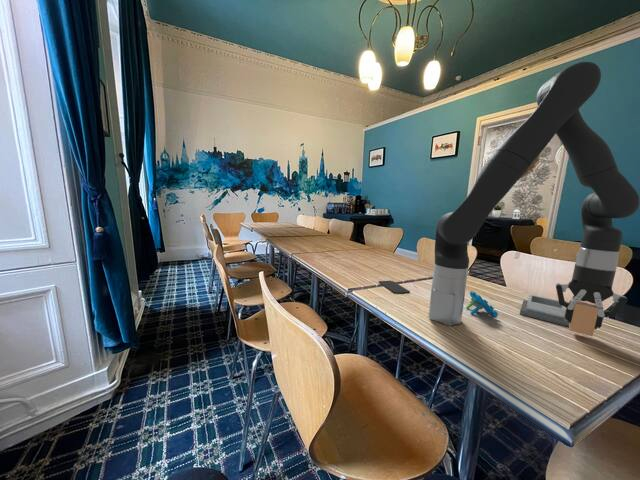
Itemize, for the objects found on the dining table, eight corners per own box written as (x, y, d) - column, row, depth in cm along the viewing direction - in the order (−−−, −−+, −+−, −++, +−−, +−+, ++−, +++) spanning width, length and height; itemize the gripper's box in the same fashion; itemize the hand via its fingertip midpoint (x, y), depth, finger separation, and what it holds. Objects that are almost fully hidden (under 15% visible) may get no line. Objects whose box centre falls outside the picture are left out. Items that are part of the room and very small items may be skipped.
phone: (392, 280, 115) (411, 291, 100) (392, 282, 115) (411, 293, 100) (377, 281, 113) (394, 292, 99) (377, 282, 113) (394, 294, 99)
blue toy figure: (506, 318, 77) (483, 293, 78) (490, 330, 77) (468, 306, 78) (486, 308, 88) (466, 286, 89) (472, 319, 88) (453, 297, 89)
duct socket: (569, 327, 76) (572, 313, 75) (519, 314, 84) (521, 301, 84) (567, 314, 86) (570, 301, 85) (523, 303, 94) (525, 292, 93)
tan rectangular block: (592, 336, 68) (599, 308, 66) (569, 330, 71) (575, 303, 69) (590, 330, 71) (596, 304, 70) (568, 325, 74) (574, 299, 72)
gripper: (559, 262, 70) (547, 320, 72) (640, 274, 60) (623, 340, 63) (558, 258, 75) (547, 312, 78) (633, 269, 66) (617, 329, 68)
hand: (581, 324), depth 70 cm, fingers closed on tan rectangular block, 4 cm apart
